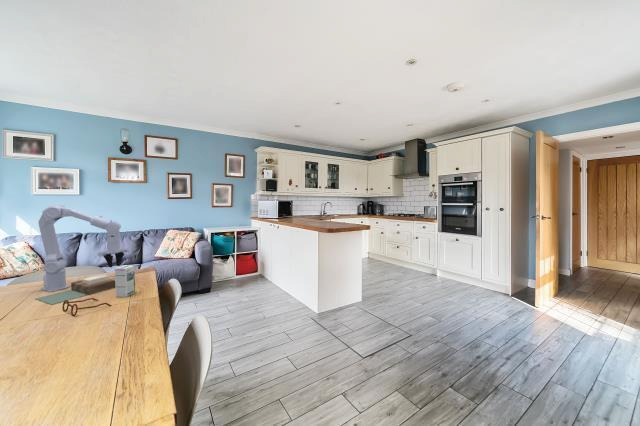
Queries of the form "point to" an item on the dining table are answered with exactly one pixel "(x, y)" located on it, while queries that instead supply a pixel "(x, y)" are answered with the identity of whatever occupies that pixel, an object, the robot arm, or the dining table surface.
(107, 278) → the flat white box
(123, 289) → the syrup box
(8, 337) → the dining table surface
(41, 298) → the mat
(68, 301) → the glasses
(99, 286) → the plate
